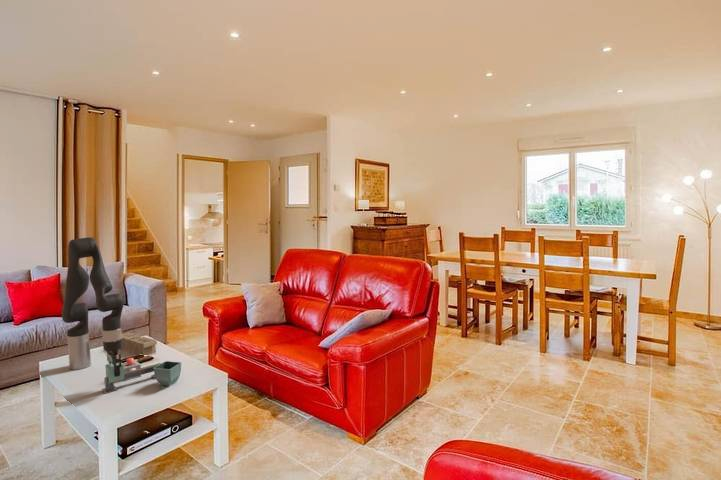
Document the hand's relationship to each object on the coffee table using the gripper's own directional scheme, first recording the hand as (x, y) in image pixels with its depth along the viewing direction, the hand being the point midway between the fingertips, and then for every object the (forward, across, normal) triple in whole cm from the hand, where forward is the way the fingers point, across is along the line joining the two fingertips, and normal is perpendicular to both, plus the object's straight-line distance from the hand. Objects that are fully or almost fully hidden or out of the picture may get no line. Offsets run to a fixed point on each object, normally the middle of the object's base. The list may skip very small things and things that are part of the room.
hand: (114, 373), depth 188 cm
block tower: (+8, -48, +22) cm, 53 cm away
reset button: (+3, -10, +9) cm, 14 cm away
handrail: (+7, 0, +8) cm, 11 cm away
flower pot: (+7, +12, +19) cm, 24 cm away
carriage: (+3, 0, 0) cm, 3 cm away
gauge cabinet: (+7, -10, +9) cm, 15 cm away
